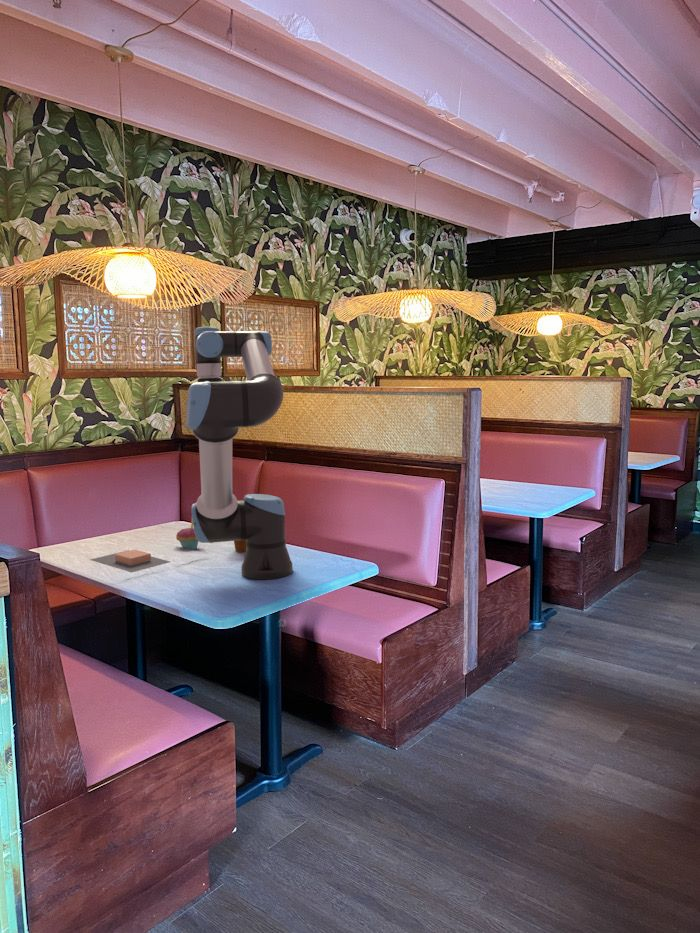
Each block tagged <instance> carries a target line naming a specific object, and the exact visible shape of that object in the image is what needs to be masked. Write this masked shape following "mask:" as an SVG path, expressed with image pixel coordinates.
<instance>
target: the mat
mask: <svg viewBox="0 0 700 933" xmlns="http://www.w3.org/2000/svg"><path fill="white" fill-rule="evenodd" d="M126 551H130V550H124V551H120V552H117V553H122V552H126ZM117 553H111V554H108V555H104V556H98V557H94V558H91V559H89V560H90V561H93V562H96V563H100V564H103V565H106V566H109V567H113V568H115V569H120V570H122V571H126V572H129V573H134V572H139V571H142V570H146V569H150V568H154V567H157V566H160V565H161V566H162V565H165V564H167V563H171V561H170V560H166V559H162V558H159V557H154V556H151V561H150V562H146V563H143V564H139V565H135V566H129V565H125V564H122V563H118V562H116V561H115V554H117Z"/></svg>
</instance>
